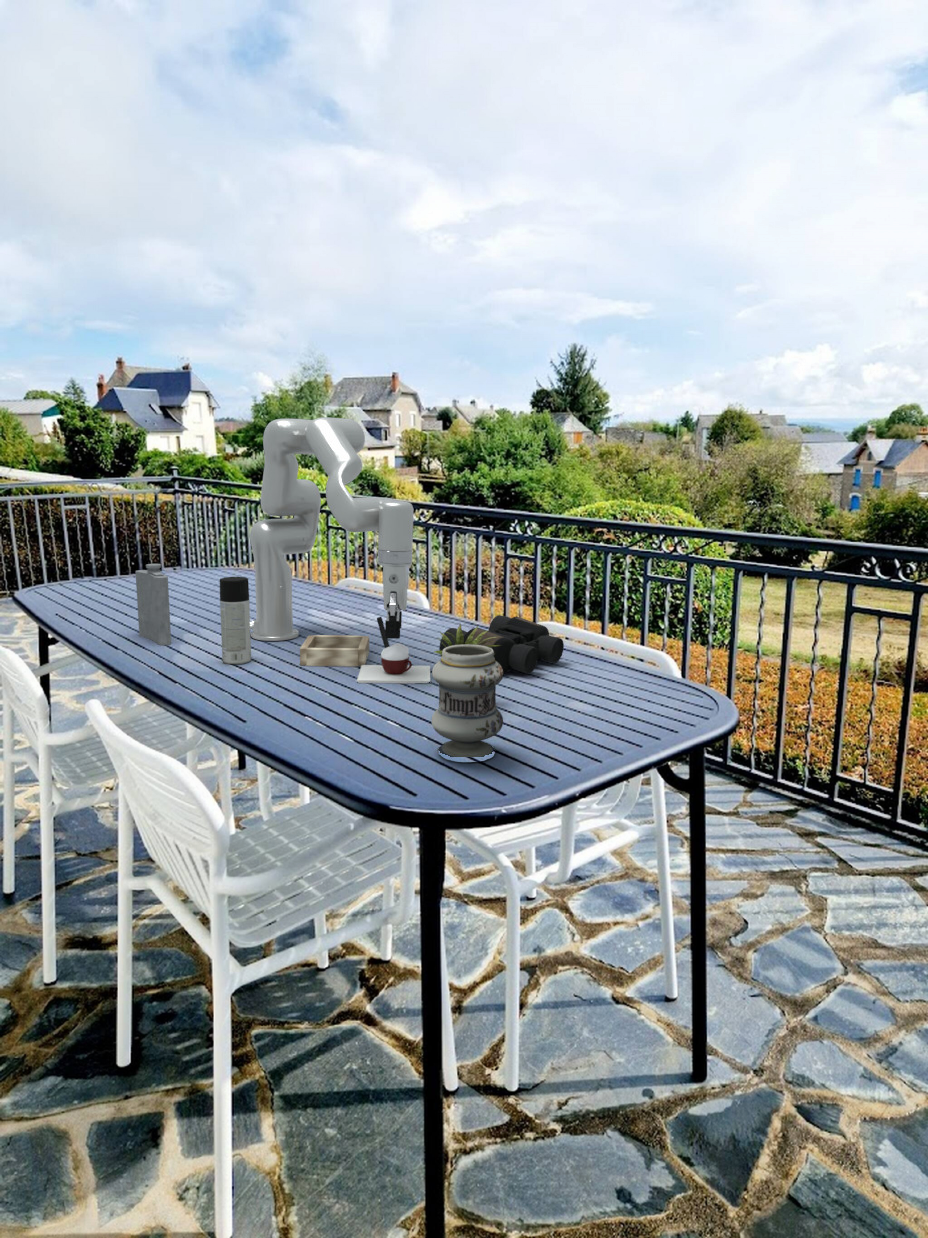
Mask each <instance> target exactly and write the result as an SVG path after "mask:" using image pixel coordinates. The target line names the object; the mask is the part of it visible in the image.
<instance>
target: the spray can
mask: <svg viewBox="0 0 928 1238" xmlns="http://www.w3.org/2000/svg"><path fill="white" fill-rule="evenodd" d="M249 588H250V586H249V577H245V576H226V577H221V578H220V579H219V608H220V610H219V611H220V629H221V630H220V633H221V634H220V635H221V655H222V656H221V658H222V662H223V663H224V664H227V665H229V664H230V665H241V664H247V663H249V662H251V660H252V645H251V644H252V641H251V638H252V637H251V629H250V622H251V618H250V617H251V613H250V612H251V611H250V589H249Z"/></svg>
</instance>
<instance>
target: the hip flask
mask: <svg viewBox="0 0 928 1238" xmlns="http://www.w3.org/2000/svg"><path fill="white" fill-rule="evenodd" d="M145 568H146V569H141V570H140V569H139V570H135V585H136V586H135V587H136V588H135V589H136V602H137V603H136V604H137V618H138V634H139V635H138V636H139V637H142V638H145V639H148V640H151V641H153V642H154V643H156V644H157V645H159V646H170V645H171V644H172V636H171V635H172V634H171V633H172V632H171V613H170V611H171V610H170V595H169V594H170V592H169V576H168V575H166V574H165V573H162V572H161V569H160V568H162V565H161V563H148V564H145Z"/></svg>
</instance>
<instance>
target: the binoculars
mask: <svg viewBox="0 0 928 1238" xmlns="http://www.w3.org/2000/svg"><path fill="white" fill-rule="evenodd" d="M475 628H476V627H473V628H471V629H469V630H468V631H466V630H464V629H462V634H463V636H464V641H463V645H464V644H465V642H466V640H467V638H468V637H469V635H470V634H471V633H472V632H473V630H474V629H475ZM457 629H458V628H456V627H450V628H448V629H447V630H446V631H444V633H443V634H444V635H446V636H447V638H448V639H449V640H450V641H451V643H452V645H453V646H454V645H455V640H454V638H453V637H452V635H453V636H454V637H455V639H456V633H457ZM488 630H489V631H488ZM488 630H487V629H483V628H480V627H478V628H477V630H476V632H475V633H474V636H473V638H472V640H473V641H474V639H476V637H477V636H478V635H480V634H481V633H483V632H485V631H487V632H486V633H485V634H484V635H483V636H482V638H481V640H480V641H479V642H478V643H479V644H478V643H477V644H478V645H481V644H482V643H483V642H485V641H492V642H486V643H484V644H482V645H481V646H487V645H500V646H494V647H489V648H491V649H493V651H494V658H495V661H496V662H498V663H499V664H500V665H501V667H502V669H503V675H504V674H506V673H508V672H510V671H511V670H514V671H518V672H519V673H520V672H521V673H523V674H526V675H527V674H528V675H529V674H531V673H532V672H533V671H534V670H535V669H536V667H537V664H538V661H540V660H542V661H545V662H548V663H550V664H556V663H558V662H559V661H560V659H561V658H562V655H563V653H564V647H565V646H564V645H565V644H564V640H563V639H562V638H561V637H559V636H553V635H550V631H549V629H548V627H546V626H545V625H542V624H540V623H537V622H533V621H531V620H528V619H526V618H523V617H519V616H514V617H510V616H507V615H506V616H505V615H502V614H498V615H495V616H494V617H493V619H491V622H490V624H489V626H488ZM446 632H448V633H446ZM449 633H451V634H452V635H451V634H449ZM491 637H496V638H491ZM442 638H443V637H442V636H441V638H440V640H441V641H442V642H443V643H442V642H441V641H440V640H439V650H440V651H443V649H444V648H446V647H449V646H448V644H447V643H446V642H445V641H444V640H443V639H442ZM487 638H490V639H487ZM484 639H487V640H485V641H483V640H484ZM481 641H483V642H481ZM480 642H481V643H480ZM443 644H444V645H445V646H446V647H445V646H444V645H443ZM477 644H476V645H477ZM441 657H442V655H440V658H441Z"/></svg>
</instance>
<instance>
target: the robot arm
mask: <svg viewBox="0 0 928 1238" xmlns="http://www.w3.org/2000/svg"><path fill="white" fill-rule="evenodd" d="M264 429H265V430H264V432H263V435H262V436H263V437H262V442H263V452H264V466H263V475H262V483H261V491H260V492H261V493H260V507H261V510H262V512H264V513H265V514H266V515H268V516H271V517H272V516H273V517H290V516H291V517H292V516H293V518H272V519H271V518H269V519H263V520H259V521H258V522H257V521H256V522H255V523H254V524H253V525H252V526H251V528H250V532H249V539H250V541H249V542H250V546H251V551H252V554H253V555H252V556H253V562H254V563H253V564H254V580H255V581H254V583H255V614H256V616H255V617H256V618H255V620H252V621H250V630H252V631H250V637H251V638H253V639H255V640H257V641H258V640H259V641H265V642H267V641H268V642H278V641H279V642H280V641H286V640H287V641H288V640H292V639H296V638H298V637H299V630H297V629H296V628H293V627H294V624H293V623H294V622H293V621H294V620H293V618H294V617H293V579H292V577H293V576H292V575H293V574H292V570H291V567H290V565H289V563H288V562H287V560H286V559H285V557H284V555H286V556H287V555H294V554H296V555H298V554H304V553H308V552H309V551H311V550H312V549H313V547H314V545H315V542H316V539H317V531H318V527H319V526H318V525H319V518H320V511H321V504H322V503H321V501H322V499H321V493H320V490H319V487H318V485H317V484H316V483H315V482H314V481H312V480H309V479H299V478H298V473H299V461H298V460H297V457H296V455H314V456H315V457H316V459H317V460H318V462H319V463H320V465H321V467H322V468H323V470H324V472H325V473H326V475H327V476H328V478H327V480H326V486H325V498H326V499H325V500H326V504H327V506H328V508H329V511H330V512H331V514H332V515H333V517H334V519H335V520H336V522H337V523H338V524H339V525H340V526H341V528H343V529H344V530H345V531H347V532H349V533H363V532H364V533H365V532H377V533H378V535H377V536H378V543H377V544H378V546H377V548H378V549H377V564H378V565H379V566H383V567H382V568H383V569H382V571H383V572H382V581H383V582H382V594H383V609H384V610H385V611H386V620H385V624H384V627H385V638H388V640H390V639H395V640H398V639H400V638H401V628H402V621H403V620H402V619H403V618H402V617H403V615H402V610H403V612H404V611H406V610H407V606H408V581H409V580H408V578H409V577H408V567H410V566H413V544H414V543H413V538H414V536H413V535H414V534H413V533H414V529H413V528H414V507H413V504H412V503H411V502H408V501H405V500H395V499H391V498H389V497H380V496H379V497H353V496H352V495H351V493H350V492H349V490H348V489H347V487H346V485H347V484H349V483H351V482H353V481H354V480H355V479H356V478H357V477H358V476H359V475H360V473H361V471H362V469H363V461H362V458H361V457H360V456H359V453H360V452H361V451H362V450H363V448H364V446H365V442H366V437H365V436H366V435H365V432H364V429H363V427H362V426H361V424H360V423H359V422H358V421H356V420H354V419H351V418H342V417H341V418H340V417H328V416H327V417H324V416H323V417H318V418H315V419H304V418H277V419H274V420H271V421H270V422H269V423H268V424H267V425H266V427H265V428H264Z"/></svg>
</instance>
